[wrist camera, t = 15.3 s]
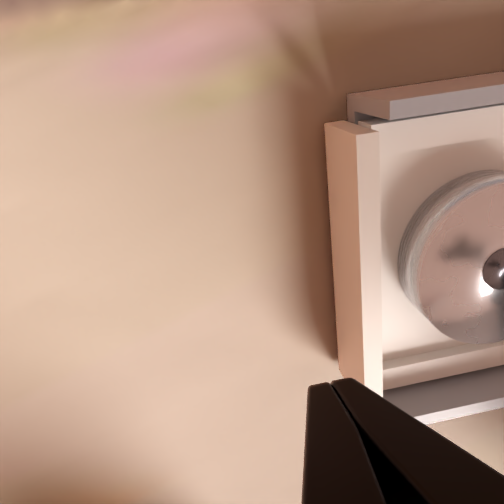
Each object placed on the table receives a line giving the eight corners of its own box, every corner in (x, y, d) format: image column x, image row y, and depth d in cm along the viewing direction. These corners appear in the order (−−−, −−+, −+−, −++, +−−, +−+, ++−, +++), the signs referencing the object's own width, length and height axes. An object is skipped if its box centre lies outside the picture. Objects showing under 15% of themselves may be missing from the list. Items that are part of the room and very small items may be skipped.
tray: (591, 82, 20) (674, 85, 16) (553, 324, 24) (611, 363, 21) (324, 123, 18) (356, 135, 15) (338, 369, 23) (365, 417, 20)
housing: (617, 54, 20) (719, 52, 16) (568, 332, 25) (636, 377, 21) (346, 94, 18) (389, 101, 15) (357, 376, 24) (391, 432, 20)
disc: (578, 205, 20) (622, 219, 18) (490, 337, 22) (520, 363, 20) (452, 142, 18) (485, 151, 16) (368, 293, 20) (388, 318, 18)
